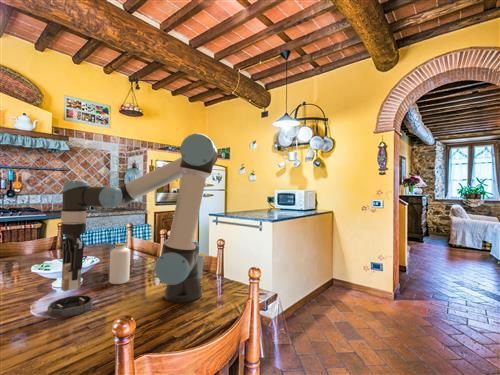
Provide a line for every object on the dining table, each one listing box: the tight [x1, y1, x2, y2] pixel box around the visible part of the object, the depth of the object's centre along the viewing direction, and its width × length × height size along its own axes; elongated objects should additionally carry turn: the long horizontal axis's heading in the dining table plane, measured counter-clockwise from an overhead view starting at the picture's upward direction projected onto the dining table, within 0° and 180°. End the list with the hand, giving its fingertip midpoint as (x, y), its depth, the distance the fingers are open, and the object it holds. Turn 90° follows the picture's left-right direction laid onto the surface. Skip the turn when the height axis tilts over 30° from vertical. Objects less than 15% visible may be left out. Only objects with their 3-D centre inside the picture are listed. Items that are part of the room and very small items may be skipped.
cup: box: [198, 255, 205, 280], centre depth 129 cm, size 8×8×10 cm
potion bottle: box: [109, 242, 131, 285], centre depth 122 cm, size 8×8×18 cm
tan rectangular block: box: [60, 263, 82, 292], centre depth 94 cm, size 3×5×9 cm, turn 145°
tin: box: [47, 294, 94, 318], centre depth 93 cm, size 13×13×2 cm
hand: (70, 287), depth 93 cm, fingers closed on tan rectangular block, 3 cm apart
